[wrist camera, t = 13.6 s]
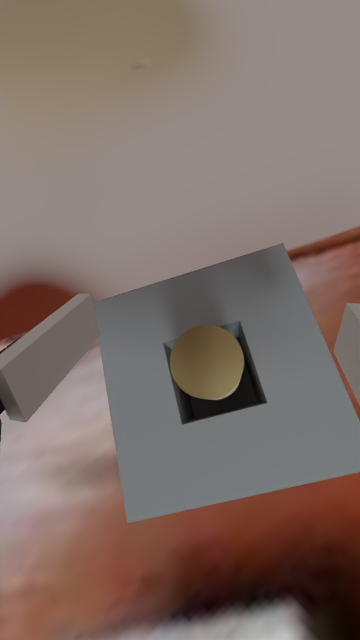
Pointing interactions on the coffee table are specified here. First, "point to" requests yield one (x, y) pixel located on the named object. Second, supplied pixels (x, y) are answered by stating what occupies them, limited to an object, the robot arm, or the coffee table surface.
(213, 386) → the peg
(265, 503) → the coffee table surface
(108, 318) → the socket block
